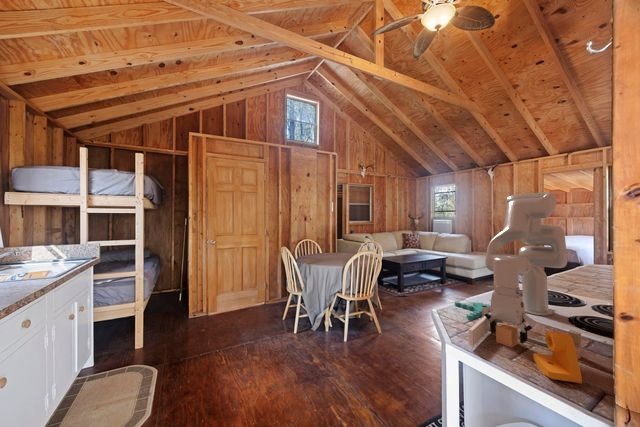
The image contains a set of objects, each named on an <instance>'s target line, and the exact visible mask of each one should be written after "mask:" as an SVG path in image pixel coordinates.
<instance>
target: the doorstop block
mask: <svg viewBox="0 0 640 427" xmlns="http://www.w3.org/2000/svg"><path fill="white" fill-rule="evenodd" d="M518 328H519V327H518V326H515V325H512V324H511V325H510V324H509V323H508V324H507V323H505V322H501V323H499V324H497V326H496V333H495V337H496V338H495V339H496V343H498V344H501V345H504V346H506V347H509V348H514V347H515V346H517V345H518V344H519V338H518V334H519V333H518V332H519V331H518Z"/></svg>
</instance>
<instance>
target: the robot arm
mask: <svg viewBox="0 0 640 427" xmlns="http://www.w3.org/2000/svg"><path fill="white" fill-rule="evenodd" d="M505 202H506V208H505V209H506V210H505V217H504V222H503V228H502V230H501V231H500V232H498V233H497V234H496V235H494V237H493V238H491V240H490V241H489V243H488V244H487V247H486V248H487V249H486V252H485V253H486V254H485V260H484V262H485V263H484V264H485V267H486V268H487V269H488V270H489V271H491V272H493V289H494V290H493V292H492V293H491V298H490V306H489V307H485V308H482V311H483V313H484V314H485V317H486V318H487V319H488V321H489V322H490V330H489V331H490V332H491V334H494V335H495V334H496V326H497V325H498V324H497V322H498V321H495V320H496V319H497V320H501V321H500V322H503V323H506V324H507V323H508V324H511V325H514V326H515V325H516V327H518V328H519V329H520V332H519V334H520V338H519V341H520V342H519V343H520V344H525V343H526V342H528V341H527V336H528V332H529V331H530V330H532V329H533V328H534V327H535V326H536V325H537V321H536V320H534V319H533V318H532V317H530V316H529V315H528V314H531V315H537V316H552V315H553V314H554V313H553V312H554V311H553V310H552V309H550V308H549V297H548V296H549V295H548V294H549V292H548V291H549V290H548V288H549V287H548V276H547V273H546V272H545V271H544V270H543V269H542V268H541V267H545V268H553V269H562V268H565V267H566V266H567V265H568V252H567V245H566V243H567V242H566V235H565V230H564V229H563V227H561V226H559V225H557V224H554V225H553V224H543V223H542V219H547V218H549V217H551V215H552V214H553V213H554V211H555V209H556V206H557V197H556V195H555V194H554V193H552V192H549V191H548V192H546V191H545V192H544V191H543V192H530V193H529V192H528V193H527V192H526V193H525V192H524V193H516V194H511V195H509V196H507V198H506V200H505ZM518 240H521V242H522V244H525V246H522V247H520V248H519V250H518V254H512V253H511V254H509V253H501V252H500V253H499V252H498V250H499V249H500V248H501V247H502V246H505V245H506V244H510V243H512V242H515V241H518ZM497 252H498V253H497ZM519 276H521V285H522V286H521V288H522V289H520V283H519V282H520V281H519ZM488 310H490V312H491V315H490V314H489V313H488ZM526 313H527V314H526ZM526 322H528V323H529V324H528V325H526Z"/></svg>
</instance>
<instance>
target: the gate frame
mask: <svg viewBox="0 0 640 427" xmlns="http://www.w3.org/2000/svg"><path fill="white" fill-rule="evenodd" d="M484 308H485V307H484ZM489 312H490V310H488V313H489ZM484 316H485V314H484V313H483V311H482V315H481V319H482V318H483V317H484ZM567 333H568V334H569V335H570V336H571V337H572V339H573V341H574V345H575V349H576V354H577V358H578V360H580V359H581V358H582V357H583V353H582V334H581V332H579V331H576V330H572V329H569V330H568V331H567ZM518 339H520V333H518ZM526 342H531V343H533V344H536V345H540V346H542V347H546V348H548V346H547V343H546V341H543V340H540V339H536V338H533V337H531V336H528V335H527V341H526Z"/></svg>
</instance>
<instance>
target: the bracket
mask: <svg viewBox="0 0 640 427" xmlns="http://www.w3.org/2000/svg"><path fill="white" fill-rule="evenodd" d="M545 342H546V343H547V346H548V347H547V348H548V349H549V351H550V352H552V353H551V354H544V353H537V352H536V353H533V361H534V362H535V365H536V367H537V368H538V369H539V371H540V372H541V373H542V374H543V375H544V376H545V377H547V378H550V379H551V380H557V381H563V382H572V383H576V384H583V382H582V381H583V378H582V377H583V376H582V373H581V367H580V364H579V359H578V358H577V354H576V349H575V345H574V341H573V339H572V337H571V336H570V335H569V334H568V332H558V331H548V330H547V331H546V332H545Z"/></svg>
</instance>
